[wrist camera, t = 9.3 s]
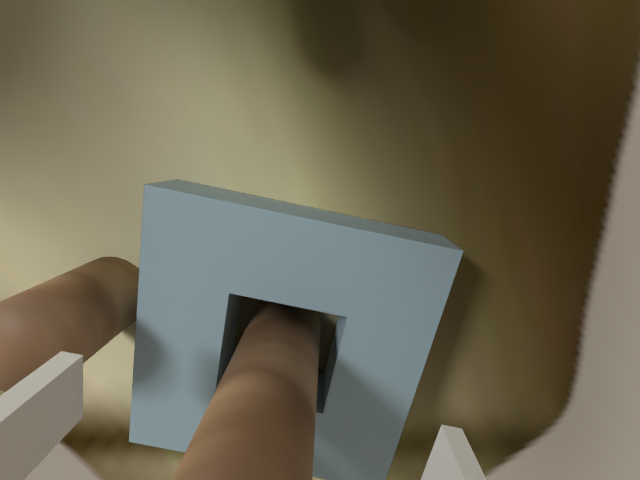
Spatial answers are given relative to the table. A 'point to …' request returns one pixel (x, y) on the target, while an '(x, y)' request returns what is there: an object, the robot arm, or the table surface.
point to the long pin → (262, 403)
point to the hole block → (290, 289)
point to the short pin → (66, 316)
